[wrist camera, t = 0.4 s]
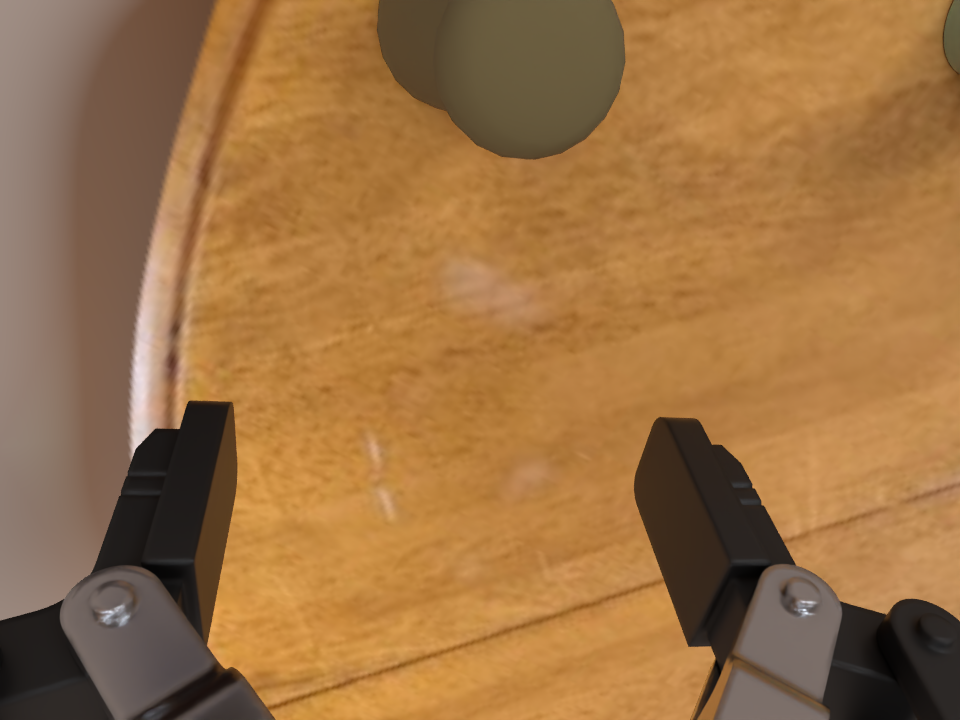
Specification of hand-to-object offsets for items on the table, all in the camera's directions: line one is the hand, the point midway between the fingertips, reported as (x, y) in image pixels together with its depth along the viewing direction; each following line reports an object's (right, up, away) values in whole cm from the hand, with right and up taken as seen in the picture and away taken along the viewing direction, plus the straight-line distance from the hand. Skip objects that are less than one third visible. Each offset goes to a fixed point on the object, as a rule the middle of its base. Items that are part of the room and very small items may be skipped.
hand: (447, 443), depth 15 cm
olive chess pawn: (0, +14, +14) cm, 20 cm away
